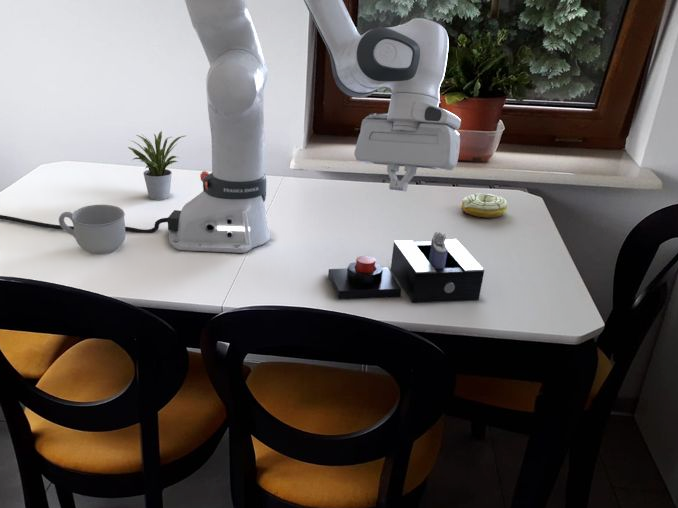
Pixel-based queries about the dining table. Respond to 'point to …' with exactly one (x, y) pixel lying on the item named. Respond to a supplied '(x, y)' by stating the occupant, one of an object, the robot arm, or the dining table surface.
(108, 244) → the teacup
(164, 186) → the house plant
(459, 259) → the glossy black box
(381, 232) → the dining table surface
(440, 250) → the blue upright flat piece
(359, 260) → the stop button
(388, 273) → the control block
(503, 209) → the decorated donut
